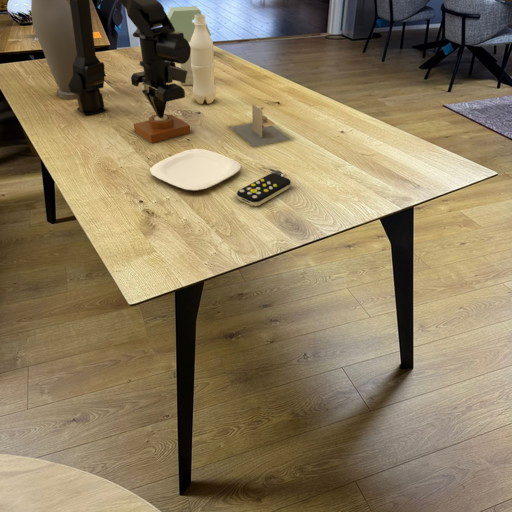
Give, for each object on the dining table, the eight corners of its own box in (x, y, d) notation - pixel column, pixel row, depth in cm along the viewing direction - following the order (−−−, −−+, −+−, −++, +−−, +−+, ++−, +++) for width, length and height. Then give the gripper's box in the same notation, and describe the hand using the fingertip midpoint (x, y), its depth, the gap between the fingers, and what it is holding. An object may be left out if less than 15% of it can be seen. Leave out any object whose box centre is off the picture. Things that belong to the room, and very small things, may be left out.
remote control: (293, 187, 107) (293, 179, 106) (255, 208, 100) (255, 200, 99) (272, 178, 111) (272, 170, 109) (234, 198, 103) (233, 190, 102)
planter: (189, 63, 204) (213, 18, 196) (193, 68, 198) (218, 21, 190) (153, 42, 195) (177, -7, 187) (156, 47, 189) (180, -3, 181)
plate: (196, 150, 123) (195, 144, 122) (250, 171, 114) (250, 164, 112) (141, 175, 111) (140, 169, 110) (196, 200, 102) (195, 194, 101)
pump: (159, 127, 129) (158, 120, 128) (152, 123, 131) (151, 117, 130) (170, 124, 131) (170, 117, 130) (164, 120, 133) (163, 114, 132)
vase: (94, 97, 155) (69, -27, 134) (52, 102, 151) (19, -25, 130) (89, 85, 165) (65, -32, 144) (50, 90, 161) (19, -30, 140)
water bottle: (212, 106, 149) (208, 18, 134) (190, 104, 150) (183, 17, 135) (218, 98, 155) (215, 13, 140) (197, 97, 156) (191, 12, 141)
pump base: (151, 143, 126) (149, 128, 124) (134, 131, 133) (132, 117, 130) (190, 132, 132) (189, 118, 130) (172, 121, 139) (171, 108, 136)
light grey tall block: (206, 79, 171) (204, 41, 164) (202, 85, 165) (200, 47, 158) (186, 78, 172) (183, 41, 164) (182, 85, 166) (178, 46, 158)
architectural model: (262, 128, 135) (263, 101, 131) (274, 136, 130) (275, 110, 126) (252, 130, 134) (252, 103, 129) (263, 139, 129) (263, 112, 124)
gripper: (200, 60, 119) (204, 120, 128) (163, 45, 131) (169, 102, 140) (160, 67, 113) (167, 130, 123) (126, 51, 125) (135, 110, 134)
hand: (160, 117), depth 130 cm, fingers closed, pressing on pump
